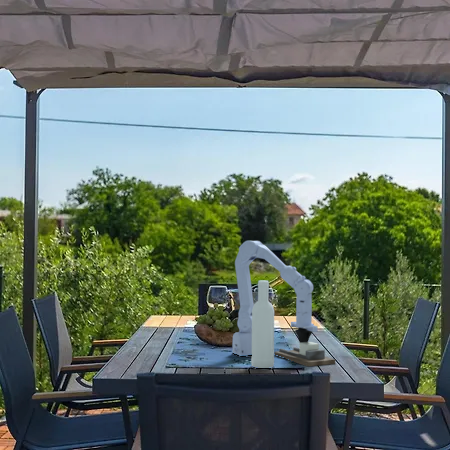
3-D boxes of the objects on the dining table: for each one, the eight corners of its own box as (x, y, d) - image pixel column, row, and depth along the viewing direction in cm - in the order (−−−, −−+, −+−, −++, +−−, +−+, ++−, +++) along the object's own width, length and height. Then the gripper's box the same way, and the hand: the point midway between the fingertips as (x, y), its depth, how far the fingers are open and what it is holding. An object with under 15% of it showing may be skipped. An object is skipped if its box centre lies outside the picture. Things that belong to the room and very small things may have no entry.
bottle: (260, 363, 211) (260, 279, 212) (278, 366, 206) (279, 280, 207) (246, 367, 205) (247, 280, 206) (265, 370, 200) (266, 281, 201)
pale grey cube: (307, 358, 214) (307, 344, 214) (299, 356, 218) (299, 342, 218) (318, 357, 216) (318, 343, 216) (310, 355, 221) (310, 341, 221)
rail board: (308, 366, 207) (308, 353, 208) (274, 355, 227) (274, 343, 227) (335, 363, 213) (335, 351, 213) (300, 353, 232) (300, 341, 233)
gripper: (324, 314, 216) (324, 351, 216) (301, 309, 229) (301, 345, 229) (308, 314, 213) (308, 352, 212) (286, 310, 226) (285, 346, 225)
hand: (303, 348), depth 220 cm, fingers closed
